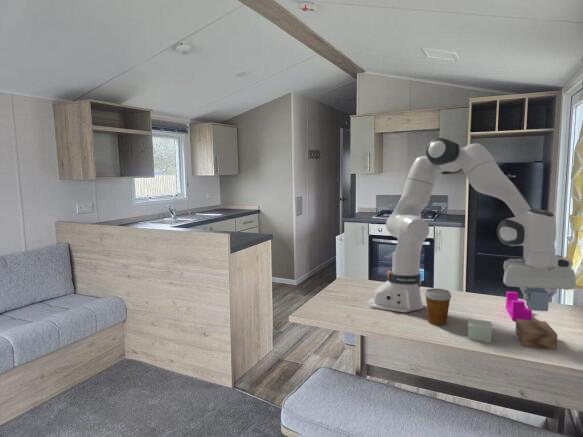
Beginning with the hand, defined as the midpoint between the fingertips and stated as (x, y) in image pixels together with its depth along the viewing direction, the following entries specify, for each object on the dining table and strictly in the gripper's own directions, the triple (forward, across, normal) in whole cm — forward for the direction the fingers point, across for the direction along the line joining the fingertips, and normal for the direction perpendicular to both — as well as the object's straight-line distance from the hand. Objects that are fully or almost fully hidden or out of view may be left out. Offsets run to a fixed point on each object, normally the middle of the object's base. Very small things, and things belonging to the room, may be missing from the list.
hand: (537, 300), depth 131 cm
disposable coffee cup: (+14, -30, +10) cm, 35 cm away
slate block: (+3, 0, 0) cm, 3 cm away
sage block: (+14, -18, -1) cm, 22 cm away
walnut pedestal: (+14, 0, 0) cm, 14 cm away
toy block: (+14, 0, +26) cm, 30 cm away
